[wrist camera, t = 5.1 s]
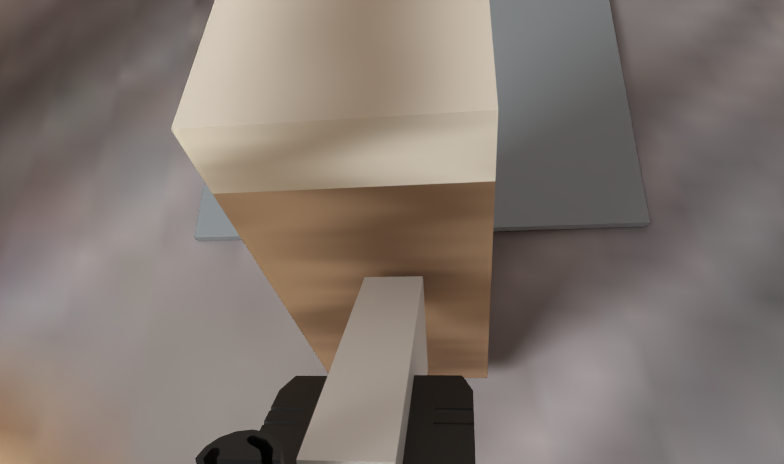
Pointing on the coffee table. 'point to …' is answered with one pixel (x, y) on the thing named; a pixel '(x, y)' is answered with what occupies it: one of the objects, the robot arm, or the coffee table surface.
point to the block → (355, 156)
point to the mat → (547, 124)
